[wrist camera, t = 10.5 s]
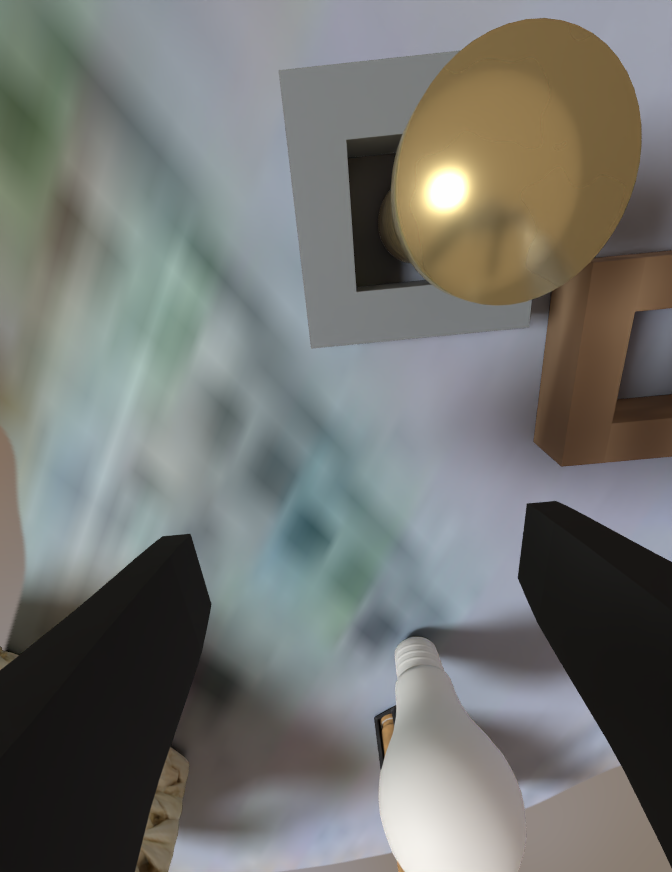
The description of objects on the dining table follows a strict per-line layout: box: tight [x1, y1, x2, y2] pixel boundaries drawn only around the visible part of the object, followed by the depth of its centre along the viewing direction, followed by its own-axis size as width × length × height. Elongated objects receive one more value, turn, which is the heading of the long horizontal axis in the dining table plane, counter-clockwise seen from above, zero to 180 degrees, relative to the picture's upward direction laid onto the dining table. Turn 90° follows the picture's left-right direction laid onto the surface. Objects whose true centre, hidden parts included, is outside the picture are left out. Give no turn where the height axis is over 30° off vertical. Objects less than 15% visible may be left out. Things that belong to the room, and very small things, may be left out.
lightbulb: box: [379, 637, 527, 872], centre depth 20 cm, size 6×6×11 cm
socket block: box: [279, 51, 532, 349], centre depth 14 cm, size 8×8×2 cm
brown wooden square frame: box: [533, 250, 672, 467], centre depth 16 cm, size 8×8×2 cm
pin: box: [378, 18, 641, 306], centre depth 11 cm, size 4×4×9 cm
